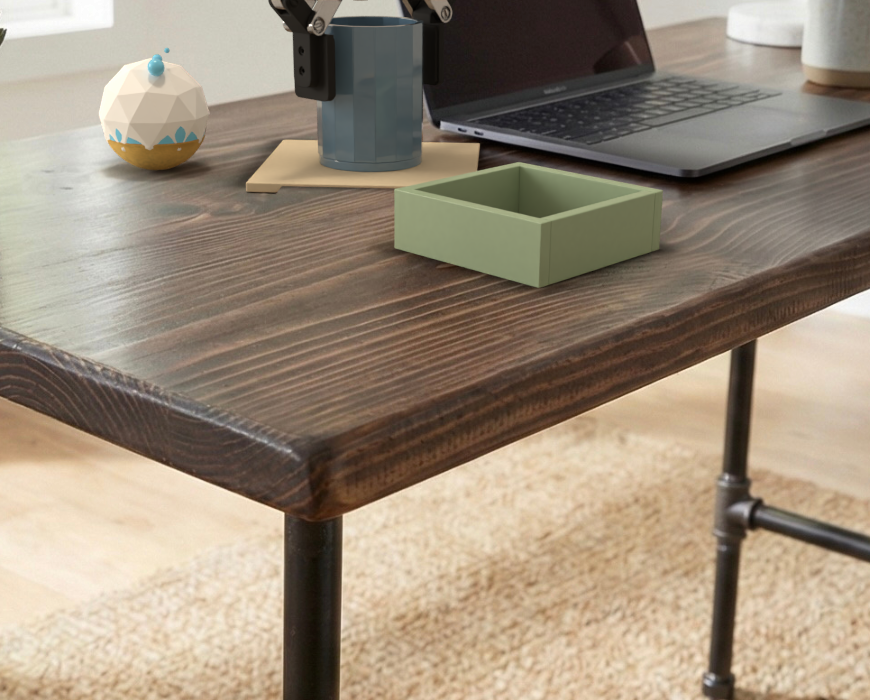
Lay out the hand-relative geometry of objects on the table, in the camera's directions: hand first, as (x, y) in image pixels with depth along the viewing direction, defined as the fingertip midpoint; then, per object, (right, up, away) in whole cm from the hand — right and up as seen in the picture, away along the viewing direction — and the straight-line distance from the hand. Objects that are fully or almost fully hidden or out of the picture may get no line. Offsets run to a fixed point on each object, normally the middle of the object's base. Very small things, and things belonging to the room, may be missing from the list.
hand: (371, 90), depth 84 cm
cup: (0, -4, +2) cm, 5 cm away
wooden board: (0, -5, +2) cm, 5 cm away
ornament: (-14, -5, +2) cm, 15 cm away
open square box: (+9, -12, -17) cm, 23 cm away
